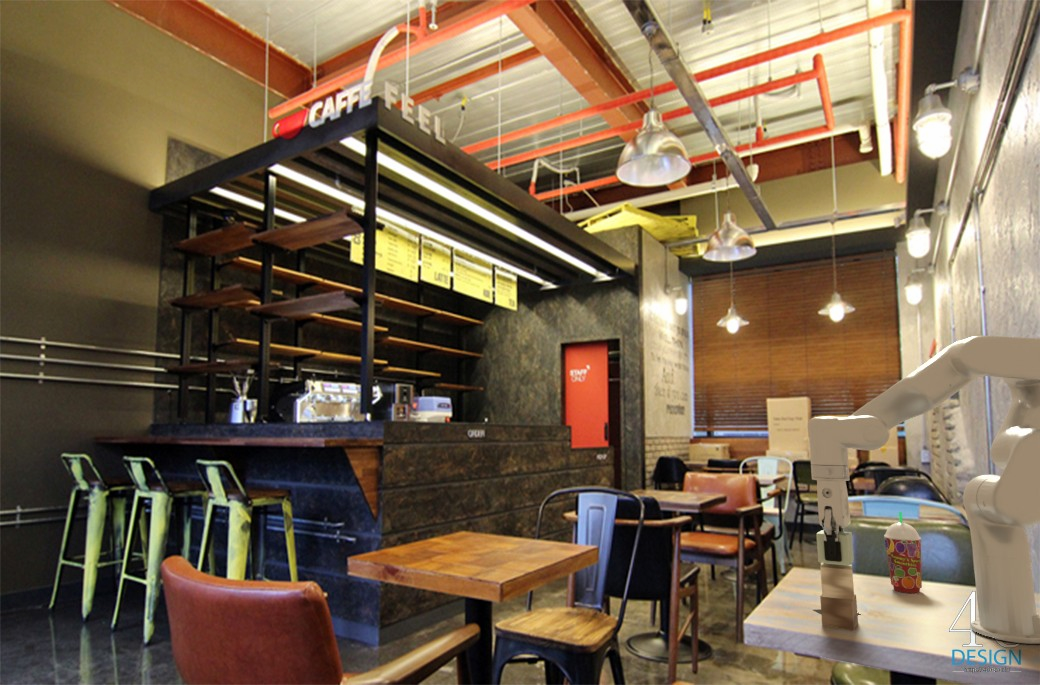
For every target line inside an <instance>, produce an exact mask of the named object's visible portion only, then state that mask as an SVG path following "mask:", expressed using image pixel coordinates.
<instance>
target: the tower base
mask: <svg viewBox="0 0 1040 685" xmlns="http://www.w3.org/2000/svg"><path fill="white" fill-rule="evenodd" d="M819 599H820V609H821V614H820V615H821V626H823V627H828V628H835V629H842V630H848V631H855V629H856V628H857V627H856V626H858V625H859V616H858V614H857V612H858V604H857V602H858V601H857V600H858V599H857V594H856V593H854V600H849V599H839V598H830V597H822V594H821V595H820V598H819Z"/></svg>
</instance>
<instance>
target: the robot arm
mask: <svg viewBox="0 0 1040 685" xmlns="http://www.w3.org/2000/svg"><path fill="white" fill-rule="evenodd" d="M983 377H995V378H1002V379H1003V381H1004V382H1005V383H1006V385H1007V387H1008V388H1009V391H1010V395H1011V398H1010V399H1011V401H1010V405H1009V408H1008V410H1007V412H1006V415H1005V417H1004V420H1003V421H1002V423H1001V426H1000V428H999V429H998V432H997V434H996V435H995V438H994V439H993V441H992V443H991V447H990V452H989V454H990V458H991V461H992V463H993V464H994V466H996V467H997V468H999V469H1000V470H1002V473H1001V475H999V474H998V475H997V474H982V475H979V476H975V477H973V478H972V479H971V480H970V481H968V482H967V483H966V485H965V487H964V490H963V496H962V498H963V499H962V500H963V506H964V511H965V515H966V517H967V522H968V527H969V531H970V538H971V539H970V540H971V547H972V560H973V570H974V571H973V572H974V579H975V590H976V592H975V593H976V601H977V609H978V619H979V620H974V621H972V622H970V629H971V630H972V631H973V632H974V633H976V632H977V633H976V634H978V633H979V634H978V635H980V634H982V635H981V636H983V635H986V636H990V637H994V638H996V639H995V640H998V641H1005V642H1010V643H1017V644H1028V645H1029V644H1030V645H1040V615H1039V612H1038V611H1037V602H1036V596H1035V586H1034V578H1033V570H1032V568H1033V567H1032V560H1031V549H1030V543H1029V538H1028V535H1027V531H1026V529H1025V528H1030V527H1033V526H1035V525H1038V524H1039V523H1040V337H1038V338H1037V337H1036V338H1035V337H1018V336H999V335H973V336H970V337H967V338H964V339H960V340H957V341H955V342H954V343H951V344H949V345H948V346H946V347H945V348H943V349H942V350H941V351H939V352H938V353H937V354H935V355H934V356H932V357H931V358H930V359H929V360H927V361H926V362H924V363H922V365H921V366H919V367H918V368H916V369H914V370H913V371H912V372H910V373H909V374H908V375H906V376H905V377H904V378H902V379H901V380H899V381H898V382H896V383H895V384H893V385H892V386H890V387H889V388H888V389H886V390H885V391H883V392H881V394H879V395H877V396H876V397H874V398H872V399H871V400H870V401H869V402H867V403H866V404H864V405H863V406H861V407H860V408H858V409H857V410H856V411H854V412H853V413H852V414H850V415H849V416H848V417H840V416H815V417H812V418H810V419H809V421H808V424H807V425H808V426H807V427H808V440H809V458H810V469H811V470H810V472H811V481H812V480H813V481H816V491H817V495H816V496H817V509H818V510H817V511H818V520H819V525H820V526H821V527H822V528H823V530H824V553H825V560H827V561H836V562H841V561H842V554H841V542H839V532H846V531H845V528H847V527H849V525H851V523H852V522H851V514H850V512H851V511H850V503H849V496H848V495H849V494H848V488H847V481H850V465H849V451H848V450H849V449H854V450H860V451H875V450H879V449H881V448H883V447H884V446H885V445H886V444H887V443H888V442H889V439H890V434H891V433H890V430H892V429H893V428H895V427H896V426H898V425H900V424H901V423H904V422H906V421H908V420H911V419H913V418H916V417H918V416H921V415H924V414H926V413H929V412H930V411H932V410H935V409H936V408H937V407H939V406H940V405H942V404H943V403H944V402H946V401H947V400H948V399H949V398H951V397H952V396H954V395H955V394H956V393H957V392H960V390H962V389H964V388H965V387H966V386H968V385H969V384H971V383H972V382H973V381H975V380H977V379H979V378H983ZM986 636H985V637H986Z"/></svg>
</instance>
